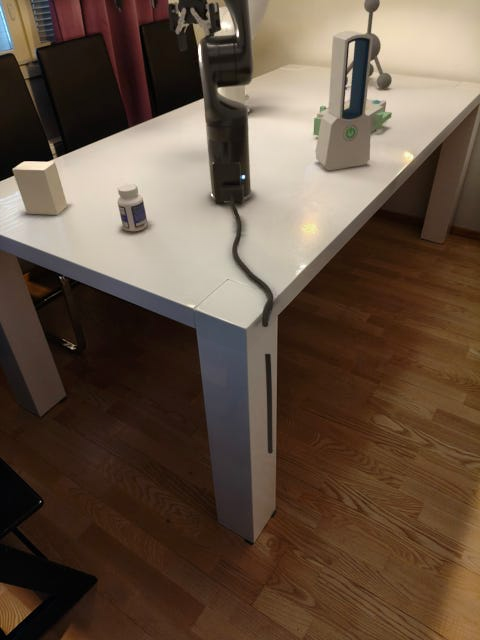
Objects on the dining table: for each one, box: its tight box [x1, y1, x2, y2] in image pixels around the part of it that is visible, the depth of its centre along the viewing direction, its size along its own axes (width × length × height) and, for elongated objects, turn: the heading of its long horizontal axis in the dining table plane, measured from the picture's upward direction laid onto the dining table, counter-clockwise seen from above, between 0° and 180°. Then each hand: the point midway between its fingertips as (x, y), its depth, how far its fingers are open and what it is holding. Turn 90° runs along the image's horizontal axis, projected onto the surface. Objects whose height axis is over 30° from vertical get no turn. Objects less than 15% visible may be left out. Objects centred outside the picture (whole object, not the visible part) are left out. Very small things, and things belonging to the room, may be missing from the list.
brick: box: [12, 160, 68, 216], centre depth 111 cm, size 5×8×11 cm, turn 79°
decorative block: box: [313, 98, 393, 136], centre depth 149 cm, size 26×6×20 cm
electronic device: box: [315, 30, 373, 171], centre depth 119 cm, size 12×8×30 cm, turn 105°
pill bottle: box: [117, 182, 148, 232], centre depth 102 cm, size 5×5×9 cm
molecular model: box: [346, 0, 393, 90], centre depth 184 cm, size 24×22×30 cm
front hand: (197, 51), depth 124 cm, fingers open, 8 cm apart
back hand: (138, 9), depth 139 cm, fingers open, 9 cm apart
